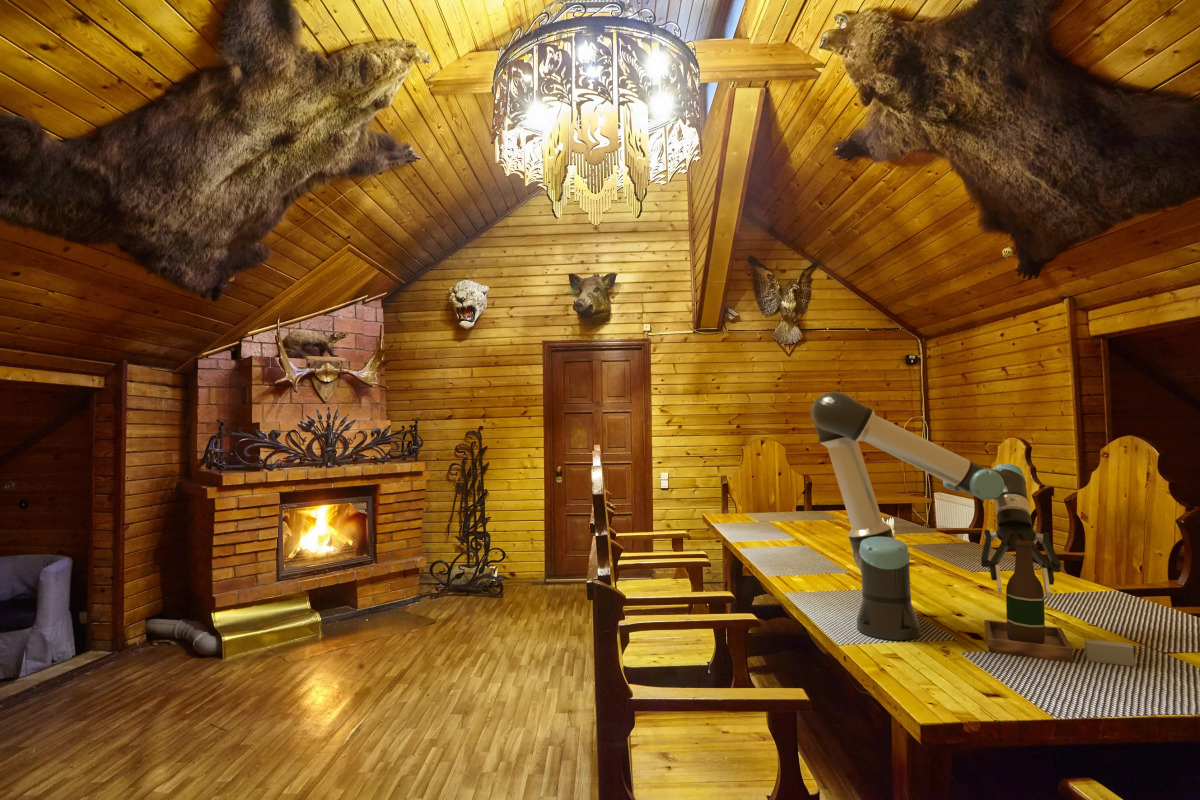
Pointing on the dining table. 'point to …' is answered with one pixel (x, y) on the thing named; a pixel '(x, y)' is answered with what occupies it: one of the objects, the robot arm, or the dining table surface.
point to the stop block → (1109, 652)
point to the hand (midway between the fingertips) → (1023, 593)
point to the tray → (1050, 649)
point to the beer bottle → (1025, 599)
